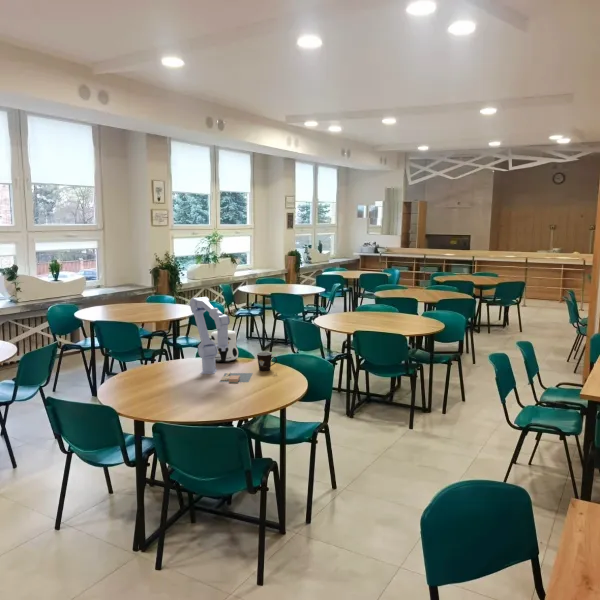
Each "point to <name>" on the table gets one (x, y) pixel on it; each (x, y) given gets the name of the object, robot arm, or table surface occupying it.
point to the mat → (243, 377)
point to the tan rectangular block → (234, 378)
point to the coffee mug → (265, 361)
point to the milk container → (232, 347)
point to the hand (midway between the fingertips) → (223, 361)
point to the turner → (226, 377)
